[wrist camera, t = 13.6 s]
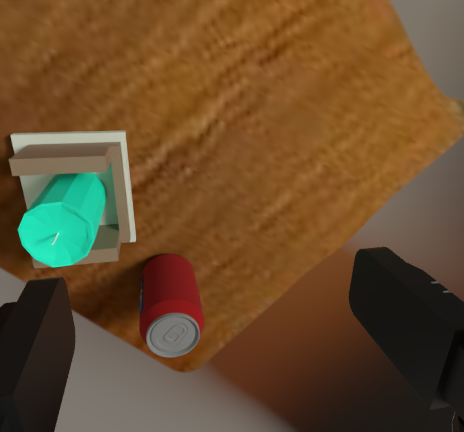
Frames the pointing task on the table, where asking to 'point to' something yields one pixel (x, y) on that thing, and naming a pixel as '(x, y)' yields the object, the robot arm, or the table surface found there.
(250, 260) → the table surface
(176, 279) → the beverage can
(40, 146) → the holder
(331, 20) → the table surface
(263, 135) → the table surface
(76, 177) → the candle
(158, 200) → the table surface
